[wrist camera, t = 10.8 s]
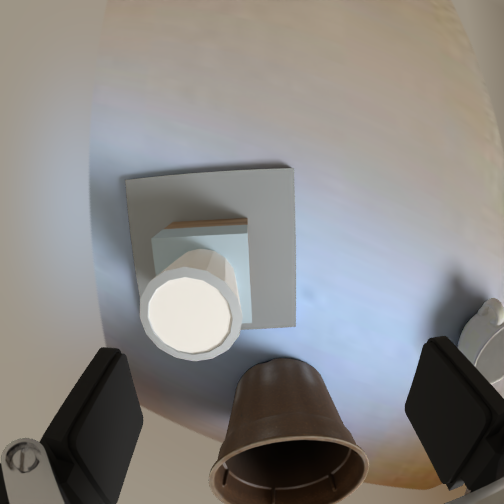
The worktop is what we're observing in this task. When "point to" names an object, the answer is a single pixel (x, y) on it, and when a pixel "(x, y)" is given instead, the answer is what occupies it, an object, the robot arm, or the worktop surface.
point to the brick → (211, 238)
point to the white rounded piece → (193, 307)
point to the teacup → (485, 340)
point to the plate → (226, 207)
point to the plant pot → (286, 441)
